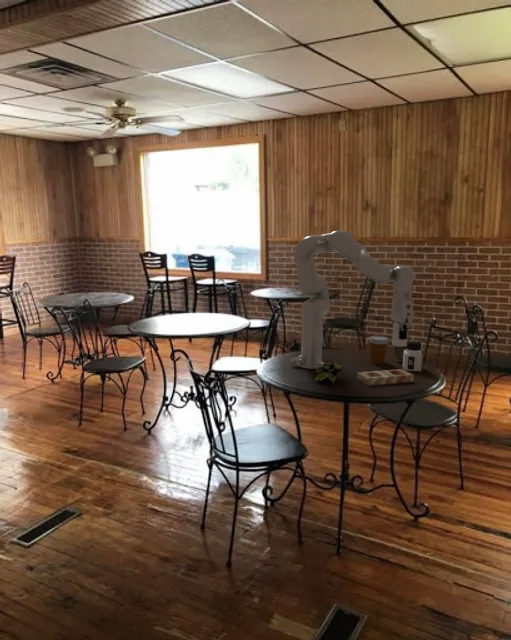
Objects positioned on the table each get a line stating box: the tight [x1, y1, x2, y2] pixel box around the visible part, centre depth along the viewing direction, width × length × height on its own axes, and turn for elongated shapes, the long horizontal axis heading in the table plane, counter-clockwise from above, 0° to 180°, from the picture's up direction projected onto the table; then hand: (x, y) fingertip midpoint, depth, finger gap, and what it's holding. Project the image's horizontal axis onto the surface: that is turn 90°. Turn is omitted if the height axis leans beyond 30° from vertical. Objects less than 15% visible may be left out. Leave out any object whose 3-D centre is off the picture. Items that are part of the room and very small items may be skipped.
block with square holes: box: [356, 368, 415, 386], centre depth 228 cm, size 22×9×3 cm, turn 108°
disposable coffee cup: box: [368, 335, 389, 365], centre depth 256 cm, size 10×10×12 cm
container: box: [402, 340, 423, 372], centre depth 246 cm, size 8×8×13 cm
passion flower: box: [314, 359, 345, 385], centre depth 224 cm, size 11×11×12 cm
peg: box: [391, 321, 409, 347], centre depth 226 cm, size 4×4×10 cm
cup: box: [393, 345, 406, 363], centre depth 258 cm, size 8×7×8 cm
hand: (399, 337), depth 227 cm, fingers closed on peg, 4 cm apart
